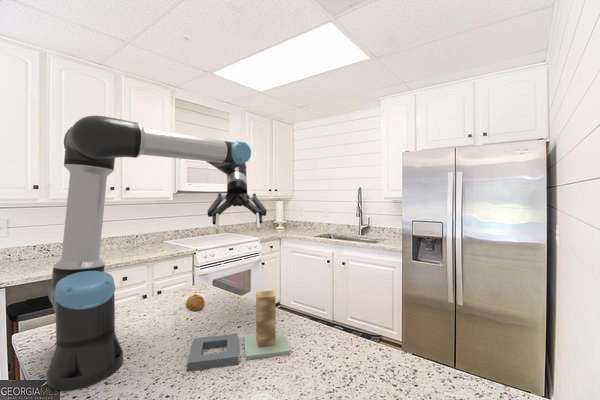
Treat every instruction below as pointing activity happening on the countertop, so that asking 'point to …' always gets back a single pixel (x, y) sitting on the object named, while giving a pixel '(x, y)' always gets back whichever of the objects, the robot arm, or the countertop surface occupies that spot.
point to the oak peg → (265, 318)
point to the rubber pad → (261, 352)
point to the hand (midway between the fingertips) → (238, 230)
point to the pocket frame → (214, 359)
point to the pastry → (195, 302)
